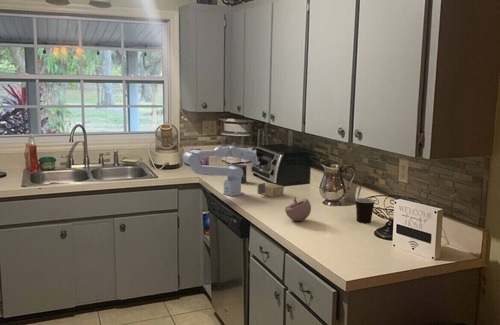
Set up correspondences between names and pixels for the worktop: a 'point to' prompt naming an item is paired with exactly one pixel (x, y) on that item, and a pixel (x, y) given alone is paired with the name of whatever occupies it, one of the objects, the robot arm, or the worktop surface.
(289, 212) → the mortar and pestle
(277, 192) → the carton
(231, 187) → the robot arm
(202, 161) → the gum box
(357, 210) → the coffee mug
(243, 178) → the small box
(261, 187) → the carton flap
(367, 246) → the worktop surface
